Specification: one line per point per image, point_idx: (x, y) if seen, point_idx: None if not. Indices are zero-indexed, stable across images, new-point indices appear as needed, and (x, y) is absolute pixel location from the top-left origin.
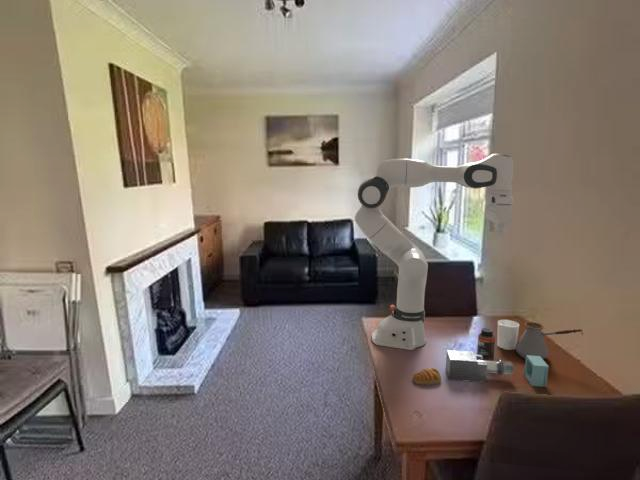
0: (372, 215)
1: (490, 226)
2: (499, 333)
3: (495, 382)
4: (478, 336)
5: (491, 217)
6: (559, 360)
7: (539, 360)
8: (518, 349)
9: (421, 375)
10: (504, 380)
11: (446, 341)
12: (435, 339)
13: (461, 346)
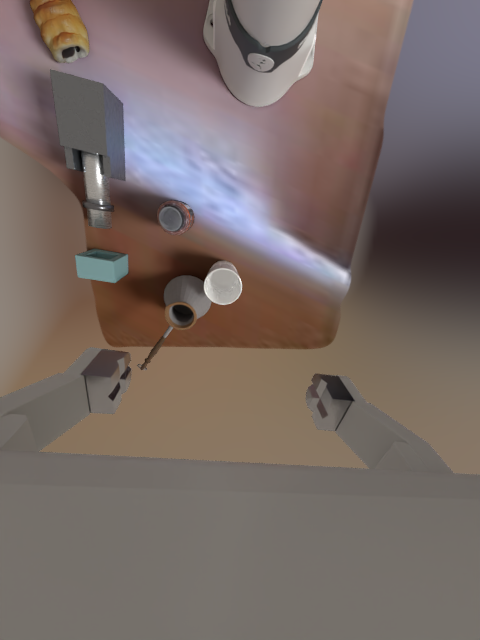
0: None
1: (352, 412)
2: (219, 264)
3: None
4: (176, 201)
5: (235, 546)
6: None
7: (97, 273)
8: (182, 276)
9: None
10: None
11: (247, 162)
12: (258, 138)
13: (223, 188)
